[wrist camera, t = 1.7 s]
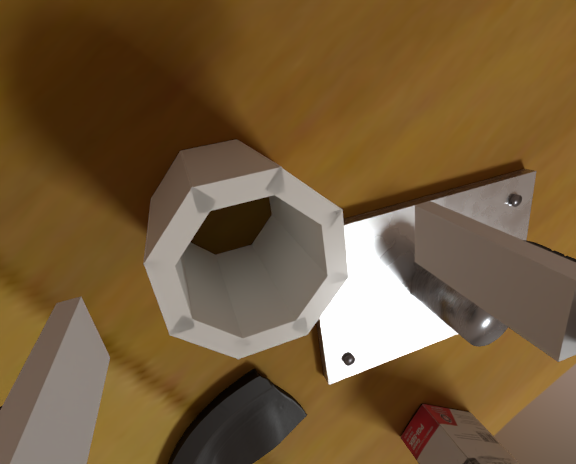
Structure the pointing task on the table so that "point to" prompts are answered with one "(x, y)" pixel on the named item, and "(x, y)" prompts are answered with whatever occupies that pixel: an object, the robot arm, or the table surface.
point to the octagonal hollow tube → (242, 253)
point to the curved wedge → (239, 424)
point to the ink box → (452, 438)
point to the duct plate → (391, 268)
